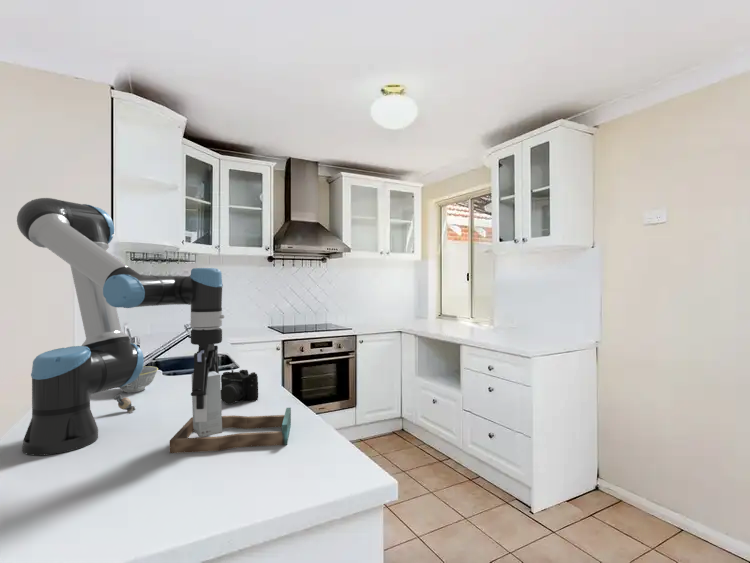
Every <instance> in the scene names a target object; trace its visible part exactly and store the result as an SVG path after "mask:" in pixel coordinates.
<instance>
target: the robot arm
mask: <svg viewBox="0 0 750 563" xmlns="http://www.w3.org/2000/svg"><path fill="white" fill-rule="evenodd" d="M16 222H17V227H18V231H20V233H21V234H22V235H23V236H24V238H26V239H27V240H28V241H29V242H31V243H32V244H33V245H35V246H37V247H39V248H43V249H45V248H46V249H48V250H49V251H51V253H54V255H56V256H58V258H60V259H62V260H63V261H64V262H66V263H67V264H68V265H70V269H71V273H72V279H73V284H74V287H75V288H74V289H75V293H76V297H77V302H78V307H79V311H80V316H81V321H82V326H83V330H84V335H85V340H84V341H83V343H82V345H75V346H74V345H73V346H67V347H60V348H54V349H52V350H51V349H50V350H47V351H44V352H42V353H40V354H38V355H37V356H36V357H35V358H34V359H33V361H32V365H31V366H32V368H31V373H30V377H31V418H30V422H29V423H28V427H27V430H26V431H25V435H24V437H23V440H22V452H23V454H25V453H27V454H26V455H29V454H34V455H33V456H47V455H46V454H49V455H55V454H56V453H57V454H62V453H65V452H66V453H67V452H70V451H74V450H78V449H81V448H84V447H86V446H89V445H90V444H93V443H95V442H96V441H97V440H98V439H99V428H98V425H97V422H96V419H95V417H94V415H93V412H92V410H91V395H95V394H98V393H102V392H104V391H108V390H112V389H118V388H119V387H122V386H124V385H126V384H129V383H131V382H133V381H135V380H136V379H137V378H138V377H139V375H140V373H141V371H142V369H143V366H145V365H144V364H145V359H144V353H143V351H142V349H141V347H138V345H137V344H135V343H133V342H131V341H130V335H129V334H126V333H124V332H123V331H122V326H121V322H120V319H119V318H120V317H119V314H118V308H123V309H133V308H140V307H151V306H152V307H155V306H169V305H170V306H171V305H179V306H181V305H187V306H188V305H190V327H191V328H192V329H191V330H190V344H192V345H198V351H197V352H195V353H194V354H193V361H194V362H193V363H194V364H193V387H192V386H191V392H190V396H191V397H192V396H195V422H207V394H206V388H207V380H208V372H209V371H215V372H217V373H218V374H220V373H219V372H220V370H219V355H218V349H219V347H218V345H217V344H220V343H222V342H223V329H222V328H221V326H223V319H224V318H225V315H224V314H223V308H222V306H223V305H222V304H223V303H222V302H223V287H224V285H223V279H222V278H223V275H222V274H223V273H222V271H221V270H220V268H215V267H214V268H213V267H195V268H192V269H191V270H190V275H187V276H185V275H148V274H147V275H143V274H140V273H139V272H137V271H135V270H134V269H132V268H131V267H129V266H128V265H126V264H125V263H124V262H122V261H121V260H119V259H118V258H117V257H115V256H114V255H112V254H111V253H110V252H108V251H107V250H108V249H109V248H110V247H109V246H110V243H111V242H112V240H113V238H114V236H113V235H114V234H115V226H114V221H113V219H112V217H111V216H110V214H109V213H108V212H107V211H106V210H103V209H102V208H99V207H96V206H93V205H90V204H87V203H76V202H71V201H66V200H61V199H56V198H52V197H39V198H35V199H32V200H30V201H28V202H26V203H25V204H24V205H23V206H22V207H20V209H19V210H18V213H17V216H16ZM119 389H120V388H119ZM198 389H201V390H198ZM44 454H45V455H44Z"/></svg>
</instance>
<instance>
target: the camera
mask: <svg viewBox="0 0 750 563" xmlns="http://www.w3.org/2000/svg"><path fill="white" fill-rule="evenodd" d="M258 379H259V378H258V373H256V372H253V371H252V372H250V373H249V371H248V369H240V370H239V371H234V370H233V369H232V370H231V371H224V372H223V373H222V374H220V383H221V402H223V403H224V404H226V405H231V404H235V403H237V402H248V401H249V402H256V400H257V401H258V400H259V381H258Z"/></svg>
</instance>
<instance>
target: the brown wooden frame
mask: <svg viewBox="0 0 750 563" xmlns="http://www.w3.org/2000/svg"><path fill="white" fill-rule="evenodd" d="M291 409H292V407H286V408H285V413H284V414H277V415H251V416H245V415H244V416H243V415H222V429H231V428H232V429H243V430H245V429H246V430H247V429H248V430H250V429H251V430H253V429H254V430H255V429H270V428H275V429H277V428H281V430H279V431H277V430H276V431H262V432H261V431H260V432H258V431H257V432H239V433H232V434H226V435H221V436H202V437H199V436H197V437H190V436H191V435H192V433H194V432H195V431H194V429H193V416H192V417H190V418H189V420H187V422H185V424H183V425H182V427H181V428H179V430H178V431H177V432H176V433H175V434H174V435H173V437H171V438H170V440H169V454H185V453H187V454H188V453H201V452H203V453H204V452H205V453H206V452H218V451H219V452H220V451H225V450H230V449H236V448H248V447H249V448H252V447H253V448H254V447H269V446H270V447H271V446H272V447H273V446H287V445H288V443H289V436H290V431H291V427H292V426H291V425H292V410H291Z"/></svg>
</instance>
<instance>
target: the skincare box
mask: <svg viewBox="0 0 750 563" xmlns="http://www.w3.org/2000/svg"><path fill="white" fill-rule="evenodd" d="M193 373H194V372H193ZM193 373H191V388H192V387H193ZM198 390H201V389H198ZM206 394H207V422H195V396H191V398H192V399H191V400H192V407H191V408H192V417H193V429H194V431H193V432H195V433H196V435H197V437H207V436H212V435H218V434H222V433H223V428H222V416H223V414H222V413H223V412H222V400H221V374H220V373H219V374H218V373H217V372H215V371H209V372H208V380H207V388H206Z"/></svg>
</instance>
